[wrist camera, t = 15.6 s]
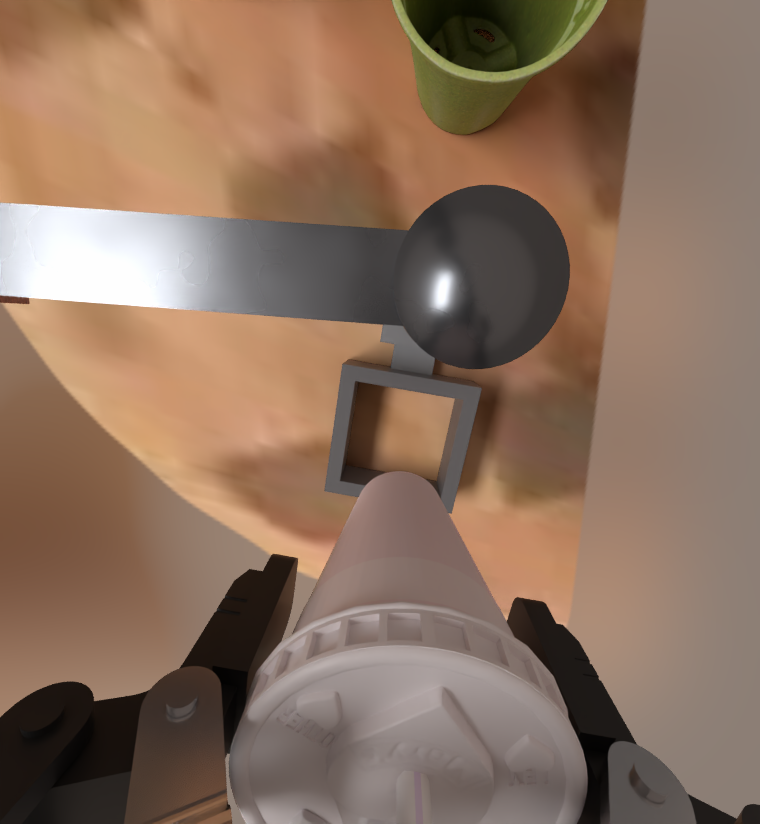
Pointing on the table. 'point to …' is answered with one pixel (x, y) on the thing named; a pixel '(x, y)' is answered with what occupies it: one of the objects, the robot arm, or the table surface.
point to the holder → (414, 375)
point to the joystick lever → (312, 268)
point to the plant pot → (486, 52)
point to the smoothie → (404, 690)
